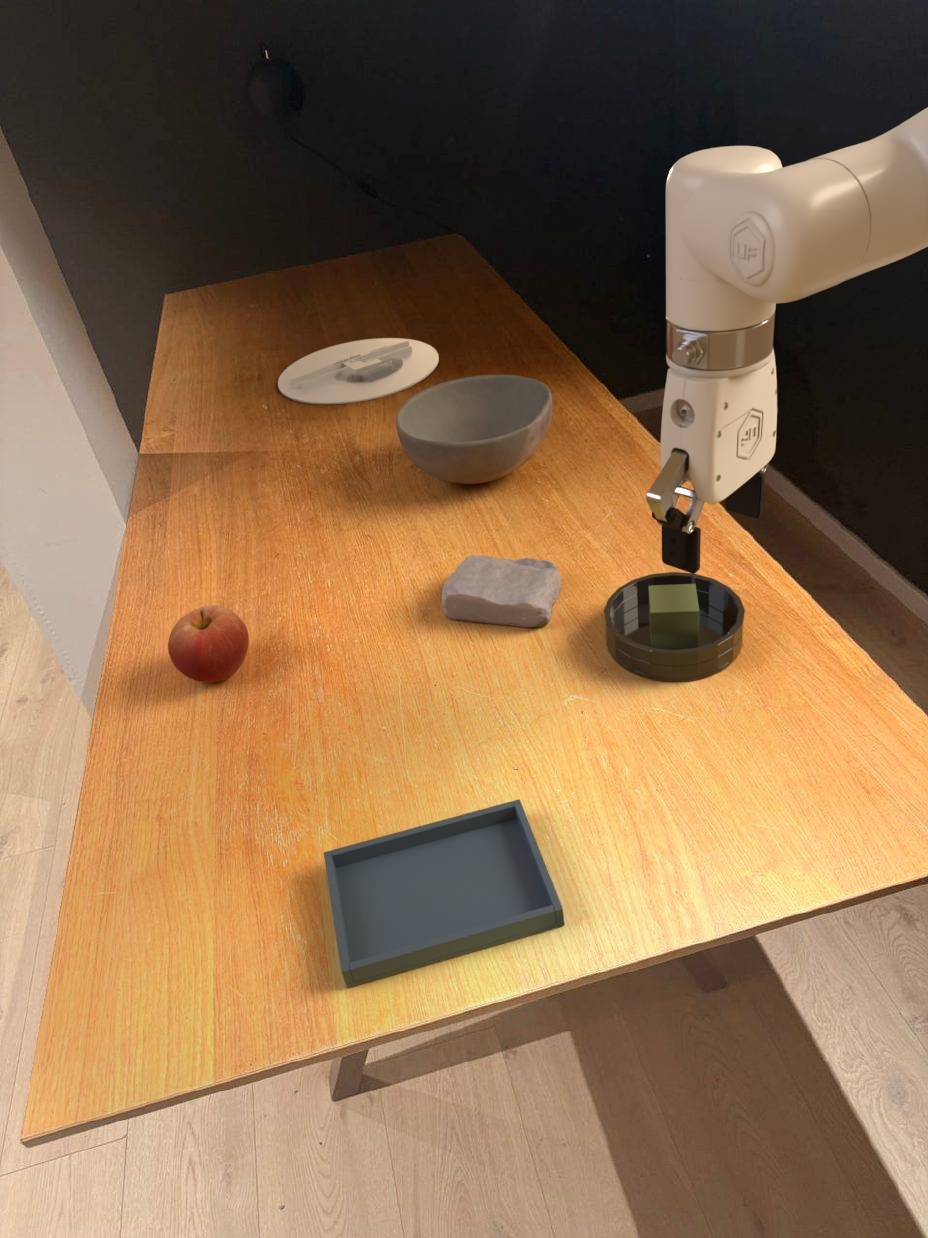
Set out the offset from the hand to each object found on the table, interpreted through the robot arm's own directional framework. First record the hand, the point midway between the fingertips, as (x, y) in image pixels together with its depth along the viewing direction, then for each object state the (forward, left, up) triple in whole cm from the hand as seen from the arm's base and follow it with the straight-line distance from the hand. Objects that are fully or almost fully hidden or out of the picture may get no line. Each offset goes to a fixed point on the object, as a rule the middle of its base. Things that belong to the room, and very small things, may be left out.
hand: (713, 539), depth 79 cm
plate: (+87, -48, -16) cm, 100 cm away
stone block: (+25, -3, -16) cm, 30 cm away
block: (+6, -5, -15) cm, 17 cm away
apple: (+45, +21, -16) cm, 52 cm away
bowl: (+45, -26, -16) cm, 54 cm away
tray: (+7, +32, -16) cm, 36 cm away
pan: (+6, -5, -16) cm, 18 cm away
